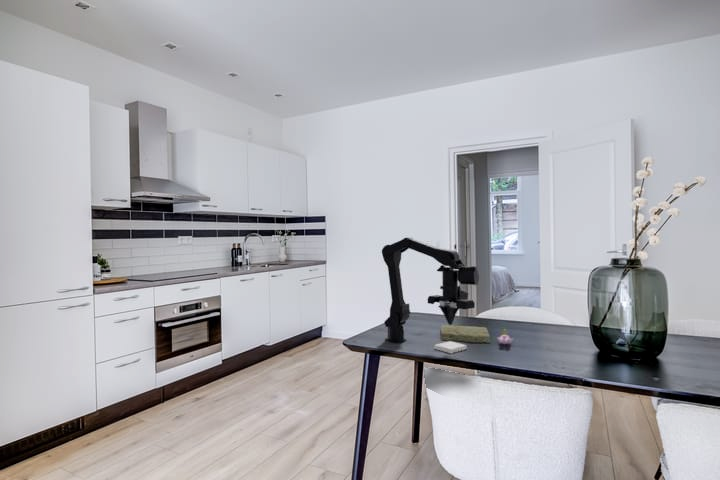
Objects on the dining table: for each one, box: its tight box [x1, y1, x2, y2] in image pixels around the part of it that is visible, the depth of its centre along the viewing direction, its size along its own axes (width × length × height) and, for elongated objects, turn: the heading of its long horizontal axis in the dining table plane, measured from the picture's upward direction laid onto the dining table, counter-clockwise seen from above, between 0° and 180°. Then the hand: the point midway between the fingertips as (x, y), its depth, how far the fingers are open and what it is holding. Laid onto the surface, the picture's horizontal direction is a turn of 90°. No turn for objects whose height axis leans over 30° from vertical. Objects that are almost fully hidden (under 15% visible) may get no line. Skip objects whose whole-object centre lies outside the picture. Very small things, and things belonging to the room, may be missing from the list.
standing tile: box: [434, 340, 468, 354], centre depth 157 cm, size 2×9×8 cm
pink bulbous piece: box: [497, 328, 514, 345], centre depth 164 cm, size 6×6×15 cm
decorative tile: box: [440, 324, 491, 344], centre depth 176 cm, size 19×20×4 cm
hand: (450, 324), depth 157 cm, fingers closed
